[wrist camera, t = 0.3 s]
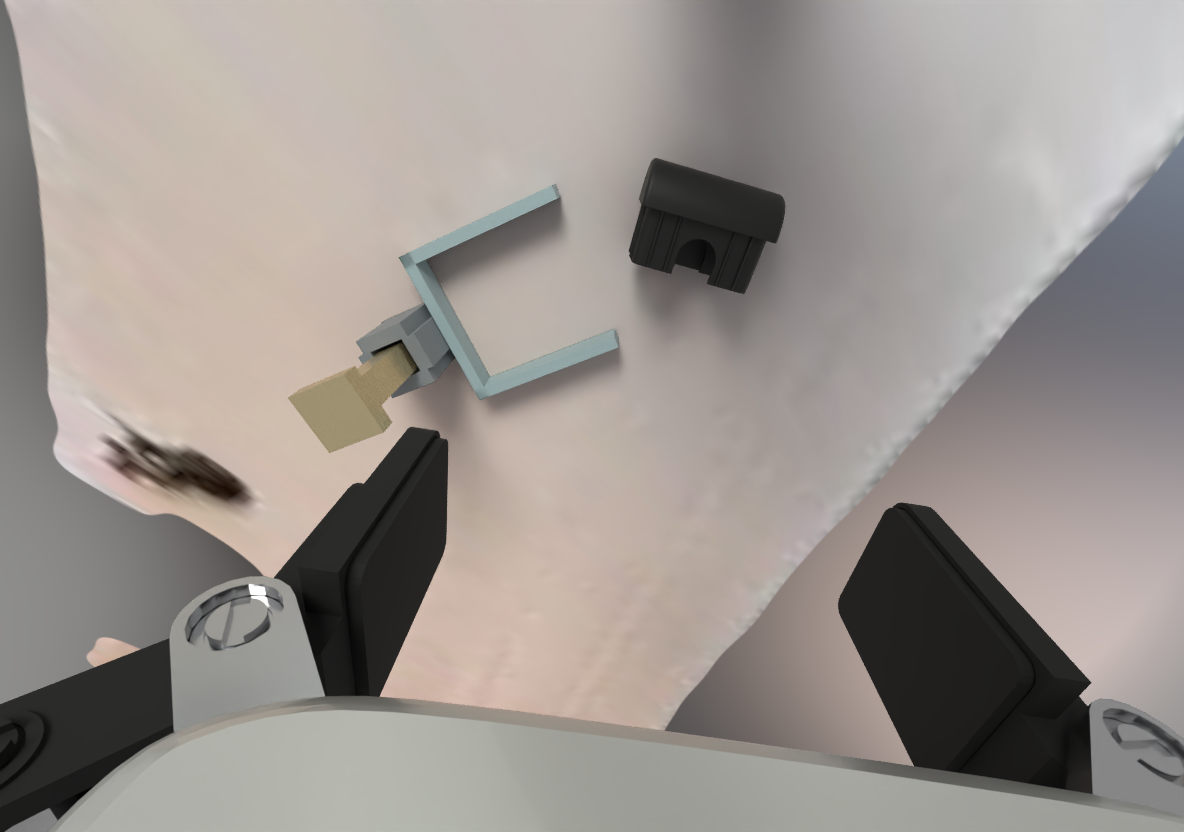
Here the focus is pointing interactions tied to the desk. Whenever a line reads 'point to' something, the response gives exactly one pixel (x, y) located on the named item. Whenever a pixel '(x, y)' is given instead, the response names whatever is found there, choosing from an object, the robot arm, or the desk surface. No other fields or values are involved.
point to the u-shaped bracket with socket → (443, 337)
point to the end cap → (704, 224)
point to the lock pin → (354, 398)
